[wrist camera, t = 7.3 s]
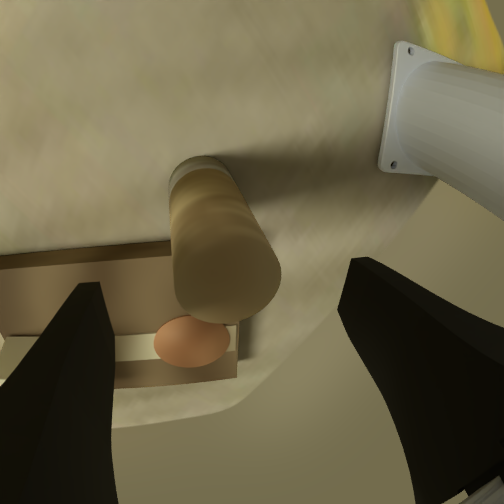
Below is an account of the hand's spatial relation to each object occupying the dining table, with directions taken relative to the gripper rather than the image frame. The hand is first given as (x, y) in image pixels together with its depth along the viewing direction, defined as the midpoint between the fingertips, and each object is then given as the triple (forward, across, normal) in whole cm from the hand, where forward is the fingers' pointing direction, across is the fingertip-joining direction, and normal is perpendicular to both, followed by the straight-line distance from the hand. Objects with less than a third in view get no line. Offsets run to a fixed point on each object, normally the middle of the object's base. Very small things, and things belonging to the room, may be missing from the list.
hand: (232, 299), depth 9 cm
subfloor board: (+9, +6, +8) cm, 14 cm away
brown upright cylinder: (+9, 0, 0) cm, 9 cm away
